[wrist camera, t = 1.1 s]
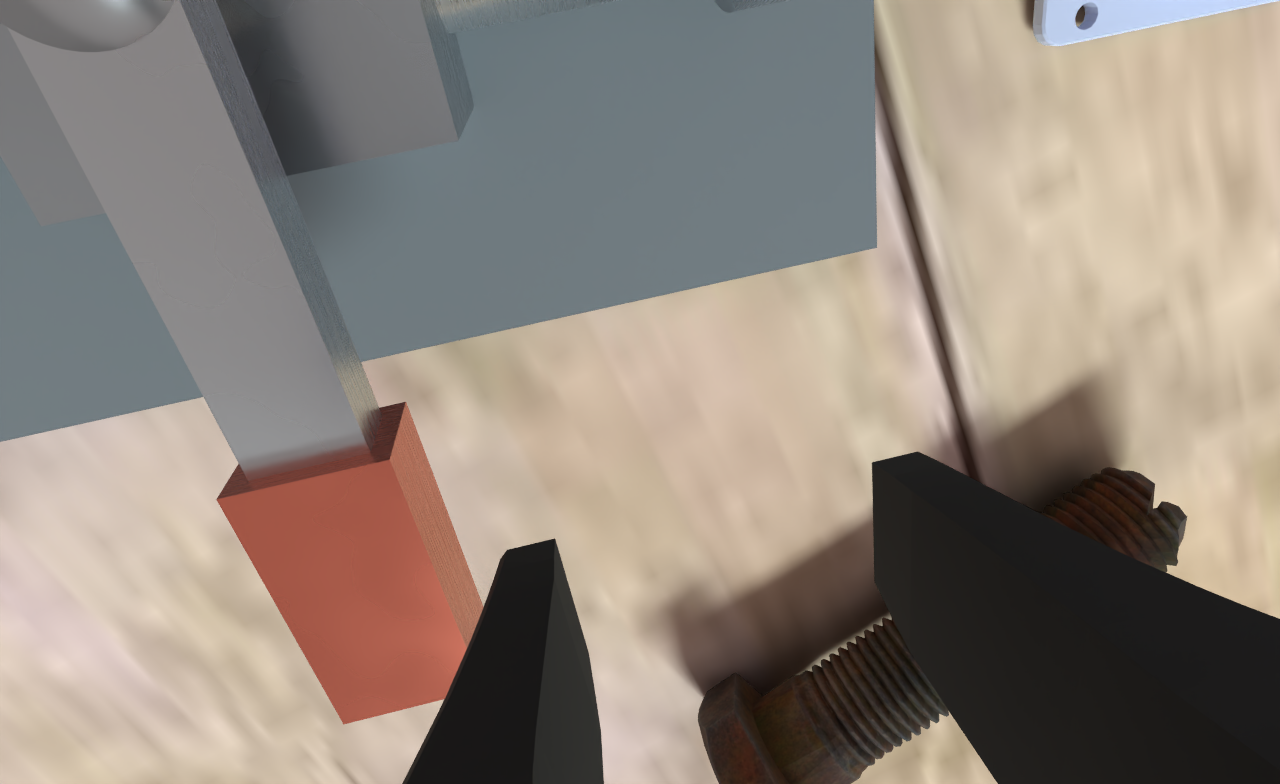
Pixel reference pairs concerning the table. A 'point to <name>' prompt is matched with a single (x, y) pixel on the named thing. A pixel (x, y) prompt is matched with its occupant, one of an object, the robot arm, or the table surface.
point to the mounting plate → (510, 198)
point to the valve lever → (261, 343)
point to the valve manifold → (298, 86)
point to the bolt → (897, 666)
